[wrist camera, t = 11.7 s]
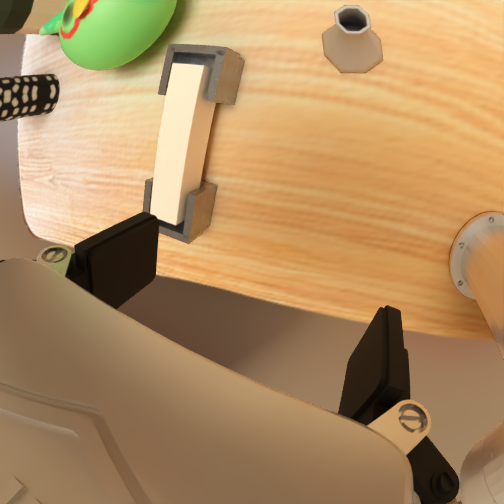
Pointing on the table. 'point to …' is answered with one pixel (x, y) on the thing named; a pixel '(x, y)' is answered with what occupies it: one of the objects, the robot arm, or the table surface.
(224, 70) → the bracket
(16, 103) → the white-spotted black cylinder
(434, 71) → the table surface
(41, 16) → the wine bottle
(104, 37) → the toy bird
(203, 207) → the bracket
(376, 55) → the flask
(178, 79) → the rail
